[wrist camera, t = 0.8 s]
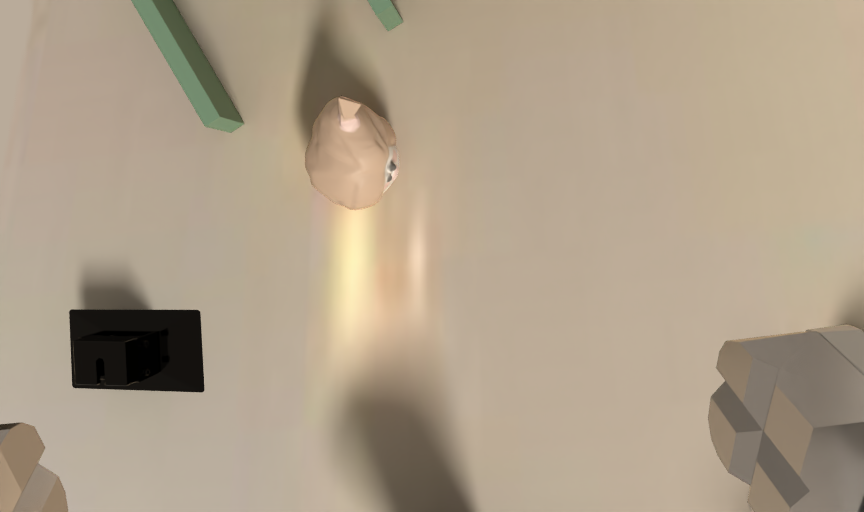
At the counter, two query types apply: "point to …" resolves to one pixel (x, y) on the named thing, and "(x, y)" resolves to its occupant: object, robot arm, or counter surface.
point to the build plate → (137, 350)
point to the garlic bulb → (351, 154)
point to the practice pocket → (195, 68)
